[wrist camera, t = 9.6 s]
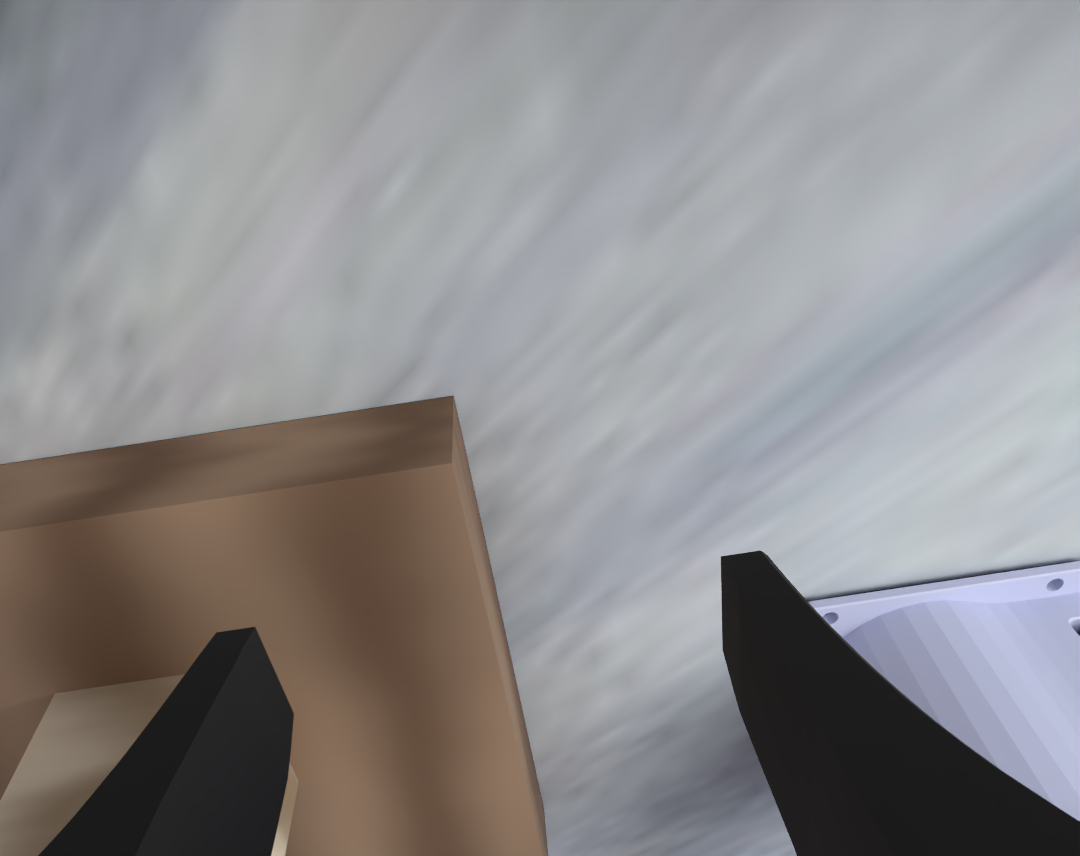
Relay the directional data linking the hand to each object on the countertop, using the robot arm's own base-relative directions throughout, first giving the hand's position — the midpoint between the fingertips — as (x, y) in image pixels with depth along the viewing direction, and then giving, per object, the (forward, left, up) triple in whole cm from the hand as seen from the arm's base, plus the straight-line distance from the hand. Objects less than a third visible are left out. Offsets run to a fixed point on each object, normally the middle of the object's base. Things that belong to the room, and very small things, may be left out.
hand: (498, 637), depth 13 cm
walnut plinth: (+10, +10, -9) cm, 17 cm away
